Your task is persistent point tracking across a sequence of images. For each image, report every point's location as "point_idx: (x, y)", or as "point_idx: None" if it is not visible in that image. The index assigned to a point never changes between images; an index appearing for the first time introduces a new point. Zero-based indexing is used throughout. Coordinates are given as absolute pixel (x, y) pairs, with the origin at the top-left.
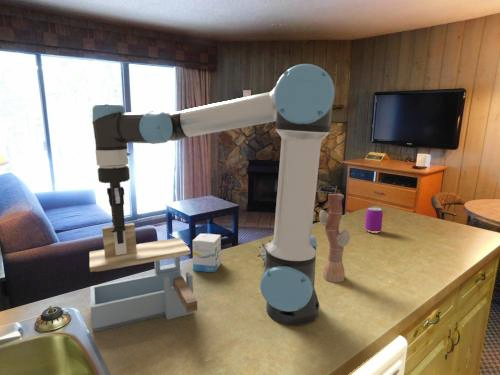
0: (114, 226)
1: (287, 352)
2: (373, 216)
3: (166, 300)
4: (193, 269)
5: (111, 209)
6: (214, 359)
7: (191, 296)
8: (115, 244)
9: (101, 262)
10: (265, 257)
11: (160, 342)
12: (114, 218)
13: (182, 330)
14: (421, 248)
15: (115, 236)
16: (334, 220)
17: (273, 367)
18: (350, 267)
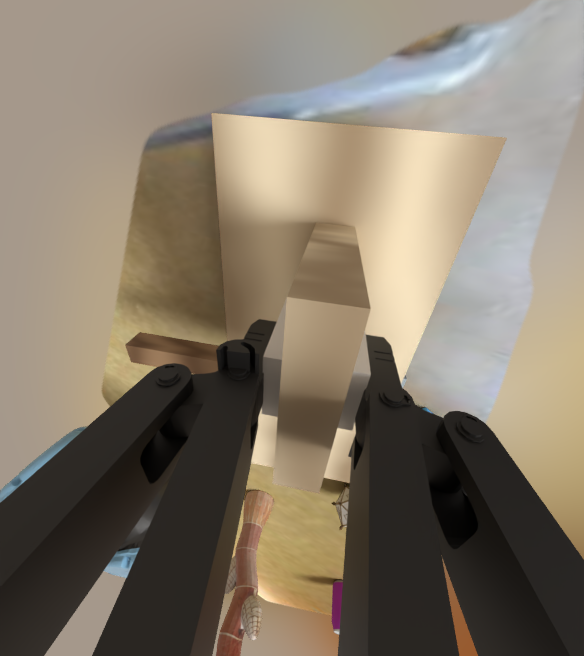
0: (148, 399)
1: (133, 383)
2: (338, 615)
3: None
4: (424, 409)
5: (557, 634)
6: (136, 315)
7: (150, 361)
8: (284, 306)
9: (257, 192)
10: (347, 496)
11: (196, 263)
12: (18, 492)
13: (217, 306)
14: (273, 567)
15: (270, 339)
16: (228, 613)
17: (111, 359)
18: (273, 519)
